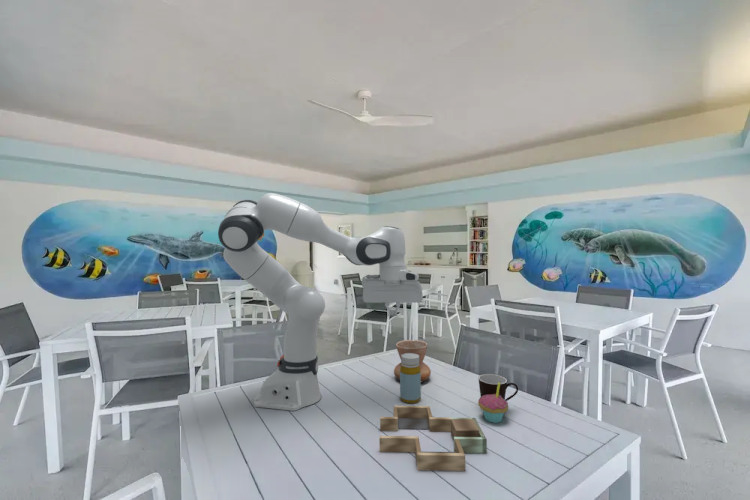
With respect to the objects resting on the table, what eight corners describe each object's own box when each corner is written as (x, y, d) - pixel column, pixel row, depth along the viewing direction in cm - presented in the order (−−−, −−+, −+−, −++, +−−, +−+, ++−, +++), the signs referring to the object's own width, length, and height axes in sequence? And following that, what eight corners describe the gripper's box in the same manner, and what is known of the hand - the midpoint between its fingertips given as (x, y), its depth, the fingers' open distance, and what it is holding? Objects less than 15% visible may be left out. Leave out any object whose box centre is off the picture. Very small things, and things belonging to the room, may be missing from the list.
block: (456, 447, 88) (456, 430, 88) (451, 435, 94) (450, 419, 94) (479, 447, 88) (479, 430, 88) (472, 435, 94) (472, 418, 94)
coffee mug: (476, 413, 107) (475, 381, 107) (481, 402, 114) (481, 372, 114) (516, 421, 101) (515, 388, 101) (518, 409, 109) (518, 378, 109)
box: (378, 469, 79) (378, 454, 79) (380, 417, 104) (380, 405, 104) (495, 471, 79) (495, 456, 79) (469, 417, 104) (469, 406, 104)
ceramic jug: (396, 370, 145) (395, 337, 144) (430, 371, 143) (430, 338, 142) (391, 388, 127) (391, 350, 127) (431, 390, 125) (430, 351, 125)
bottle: (420, 395, 120) (420, 352, 120) (421, 404, 113) (420, 359, 113) (400, 394, 120) (400, 352, 120) (399, 403, 114) (399, 358, 114)
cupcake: (507, 414, 105) (507, 376, 105) (508, 428, 97) (508, 386, 97) (478, 410, 108) (478, 373, 108) (477, 423, 100) (477, 382, 100)
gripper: (361, 275, 112) (361, 317, 112) (423, 275, 111) (423, 317, 111) (362, 274, 118) (362, 313, 118) (421, 273, 118) (421, 313, 118)
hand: (392, 315), depth 115 cm, fingers closed
